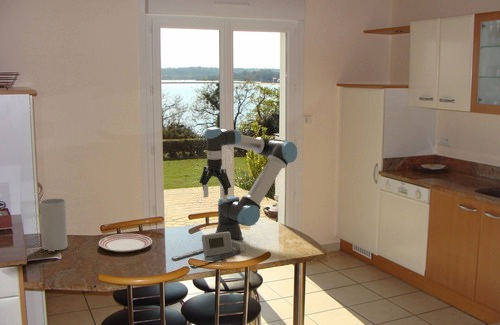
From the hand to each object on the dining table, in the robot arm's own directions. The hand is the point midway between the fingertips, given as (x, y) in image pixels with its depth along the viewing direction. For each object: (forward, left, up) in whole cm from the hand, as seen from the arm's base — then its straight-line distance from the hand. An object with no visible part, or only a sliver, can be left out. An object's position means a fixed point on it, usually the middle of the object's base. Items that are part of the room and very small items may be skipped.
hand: (215, 199), depth 287 cm
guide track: (+5, -9, -27) cm, 29 cm away
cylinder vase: (-59, -59, -27) cm, 88 cm away
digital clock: (+5, -3, -28) cm, 28 cm away
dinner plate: (-36, -31, -28) cm, 55 cm away
